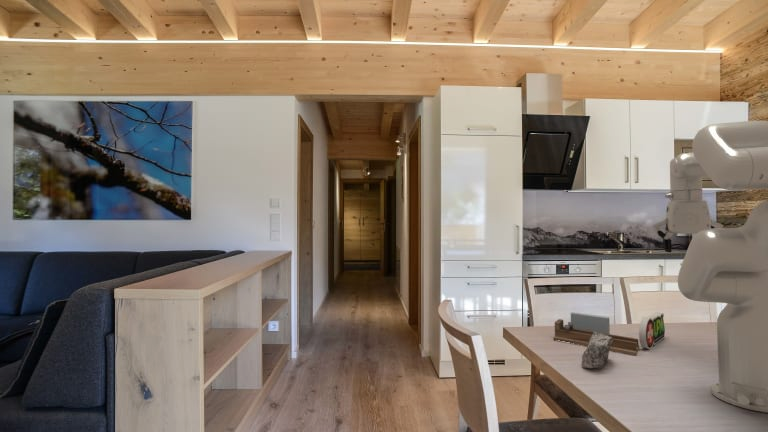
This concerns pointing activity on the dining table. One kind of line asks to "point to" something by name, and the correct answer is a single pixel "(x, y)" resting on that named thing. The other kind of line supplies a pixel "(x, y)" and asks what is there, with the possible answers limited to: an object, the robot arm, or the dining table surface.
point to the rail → (583, 336)
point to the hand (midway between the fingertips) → (687, 252)
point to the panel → (590, 322)
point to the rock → (596, 351)
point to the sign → (651, 330)
